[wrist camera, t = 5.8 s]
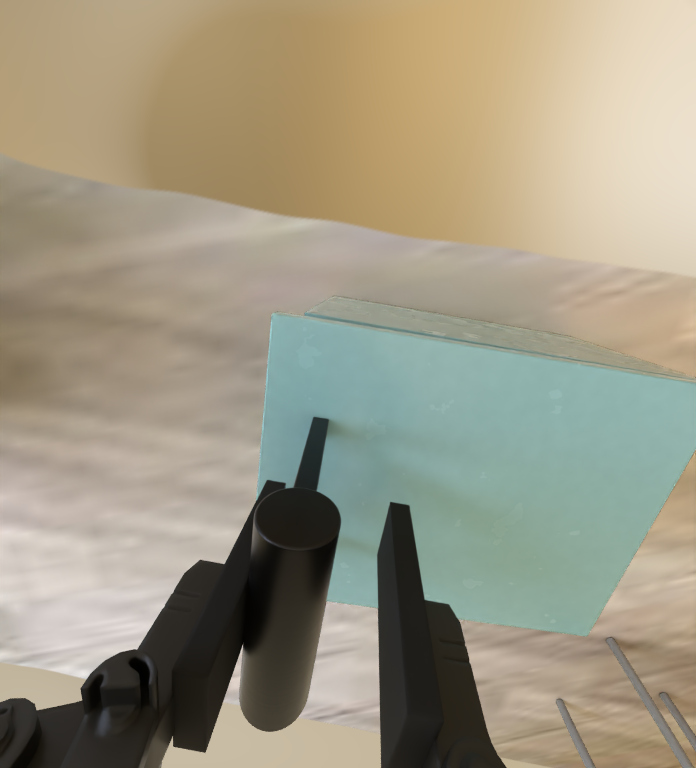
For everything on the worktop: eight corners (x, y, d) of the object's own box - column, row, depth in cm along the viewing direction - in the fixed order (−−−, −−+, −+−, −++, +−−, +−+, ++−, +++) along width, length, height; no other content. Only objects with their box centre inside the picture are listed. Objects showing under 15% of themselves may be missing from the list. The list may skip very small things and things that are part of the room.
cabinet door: (252, 578, 18) (181, 793, 11) (275, 310, 14) (175, 363, 6) (578, 622, 19) (725, 856, 11) (712, 382, 14) (1119, 512, 7)
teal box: (309, 463, 30) (275, 565, 19) (333, 295, 25) (304, 312, 14) (506, 499, 29) (578, 621, 19) (569, 335, 25) (711, 382, 14)
